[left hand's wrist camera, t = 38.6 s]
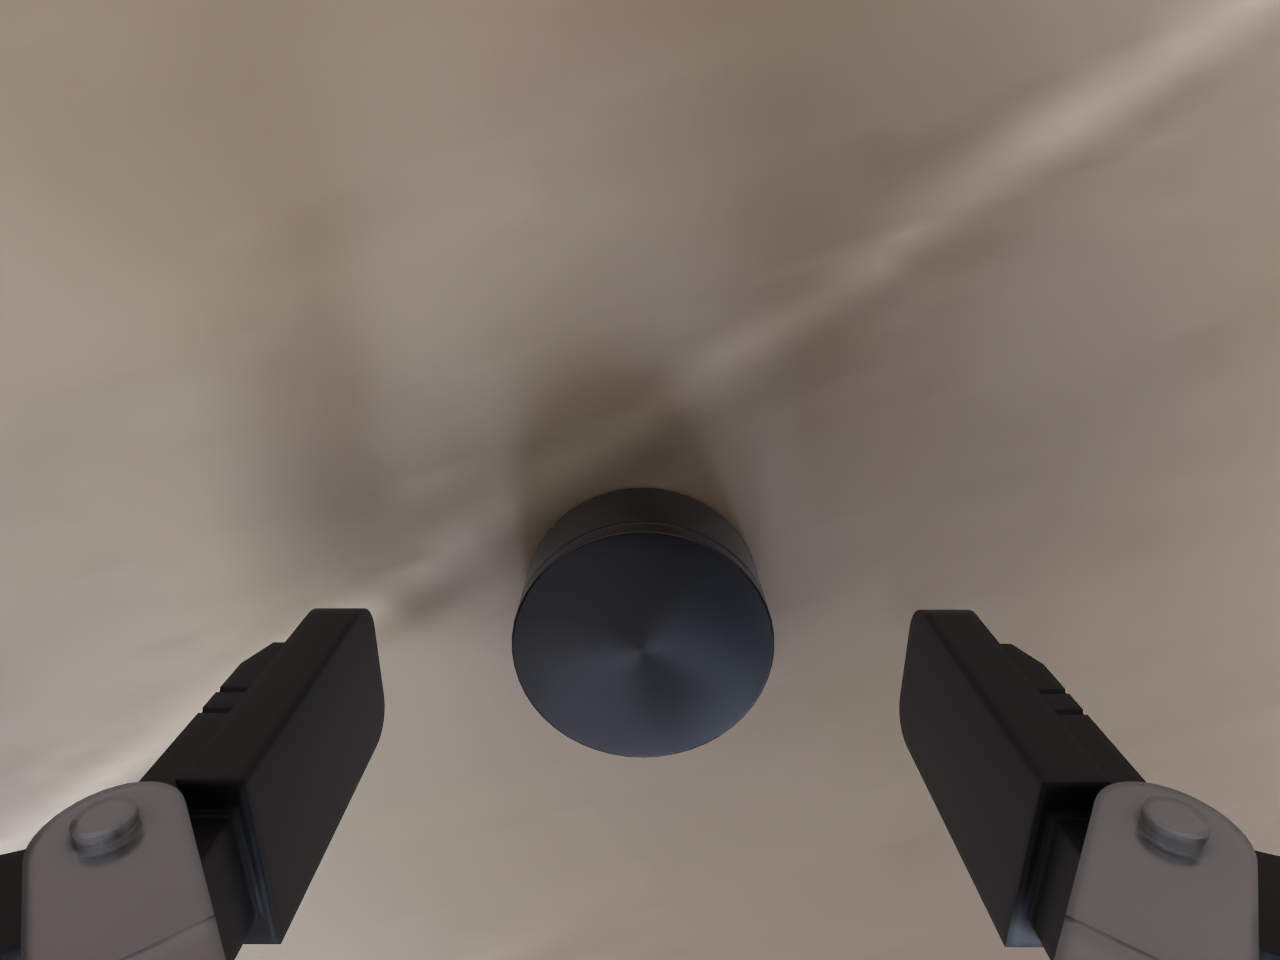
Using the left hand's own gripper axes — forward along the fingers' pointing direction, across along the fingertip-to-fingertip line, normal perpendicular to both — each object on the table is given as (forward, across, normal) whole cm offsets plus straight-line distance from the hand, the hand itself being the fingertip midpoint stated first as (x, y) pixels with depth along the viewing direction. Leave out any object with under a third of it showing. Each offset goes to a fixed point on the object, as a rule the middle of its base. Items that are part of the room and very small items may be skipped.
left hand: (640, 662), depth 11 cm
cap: (+1, 0, 0) cm, 1 cm away
